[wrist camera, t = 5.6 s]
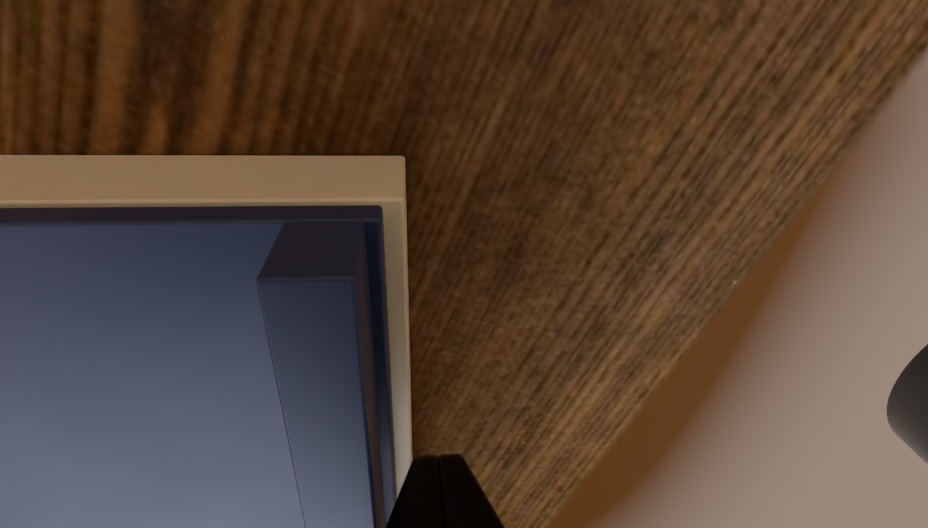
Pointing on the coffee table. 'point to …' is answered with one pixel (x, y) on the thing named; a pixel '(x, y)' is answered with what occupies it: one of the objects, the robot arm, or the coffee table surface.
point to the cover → (195, 368)
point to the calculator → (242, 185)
